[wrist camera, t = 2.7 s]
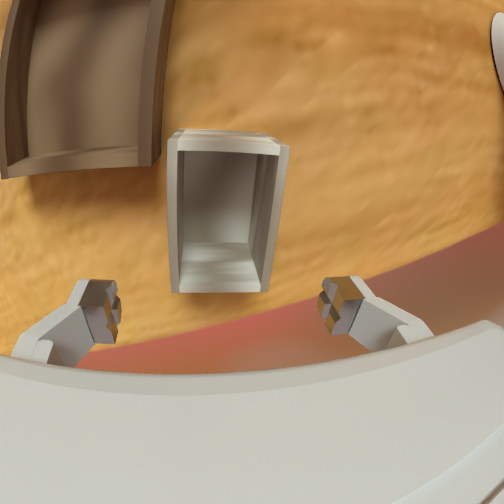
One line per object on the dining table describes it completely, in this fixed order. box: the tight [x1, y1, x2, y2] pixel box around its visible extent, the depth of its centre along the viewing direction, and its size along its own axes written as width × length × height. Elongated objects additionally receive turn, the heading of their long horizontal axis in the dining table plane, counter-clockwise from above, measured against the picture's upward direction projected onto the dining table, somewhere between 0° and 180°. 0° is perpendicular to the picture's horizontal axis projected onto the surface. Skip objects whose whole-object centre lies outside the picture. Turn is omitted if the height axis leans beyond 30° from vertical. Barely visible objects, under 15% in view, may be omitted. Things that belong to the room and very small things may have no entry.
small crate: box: [167, 129, 290, 293], centre depth 17 cm, size 6×9×6 cm, turn 174°
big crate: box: [0, 0, 175, 179], centre depth 11 cm, size 12×15×4 cm
